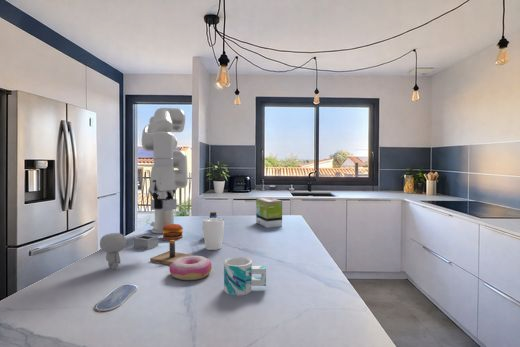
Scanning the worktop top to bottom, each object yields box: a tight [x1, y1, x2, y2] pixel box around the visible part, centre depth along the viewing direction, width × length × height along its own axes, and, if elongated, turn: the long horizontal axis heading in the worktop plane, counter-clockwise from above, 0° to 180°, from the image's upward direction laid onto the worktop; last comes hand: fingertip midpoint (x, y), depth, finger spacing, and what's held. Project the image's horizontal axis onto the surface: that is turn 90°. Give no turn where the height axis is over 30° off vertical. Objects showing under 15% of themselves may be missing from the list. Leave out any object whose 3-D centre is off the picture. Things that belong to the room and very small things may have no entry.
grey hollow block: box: [133, 234, 159, 251], centre depth 137 cm, size 8×6×4 cm
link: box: [150, 198, 178, 211], centre depth 129 cm, size 8×6×4 cm
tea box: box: [255, 197, 283, 229], centre depth 183 cm, size 15×10×15 cm, turn 25°
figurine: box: [99, 232, 127, 270], centre depth 110 cm, size 8×8×12 cm
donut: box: [168, 255, 213, 281], centre depth 105 cm, size 14×13×5 cm
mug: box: [223, 256, 267, 296], centre depth 93 cm, size 8×12×8 cm
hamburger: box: [162, 223, 184, 241], centre depth 152 cm, size 9×10×7 cm
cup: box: [202, 217, 225, 251], centre depth 135 cm, size 9×9×12 cm
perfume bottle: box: [209, 211, 218, 218], centre depth 153 cm, size 6×6×12 cm
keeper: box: [149, 240, 195, 266], centre depth 119 cm, size 12×10×7 cm
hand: (163, 207), depth 129 cm, fingers closed on link, 6 cm apart
